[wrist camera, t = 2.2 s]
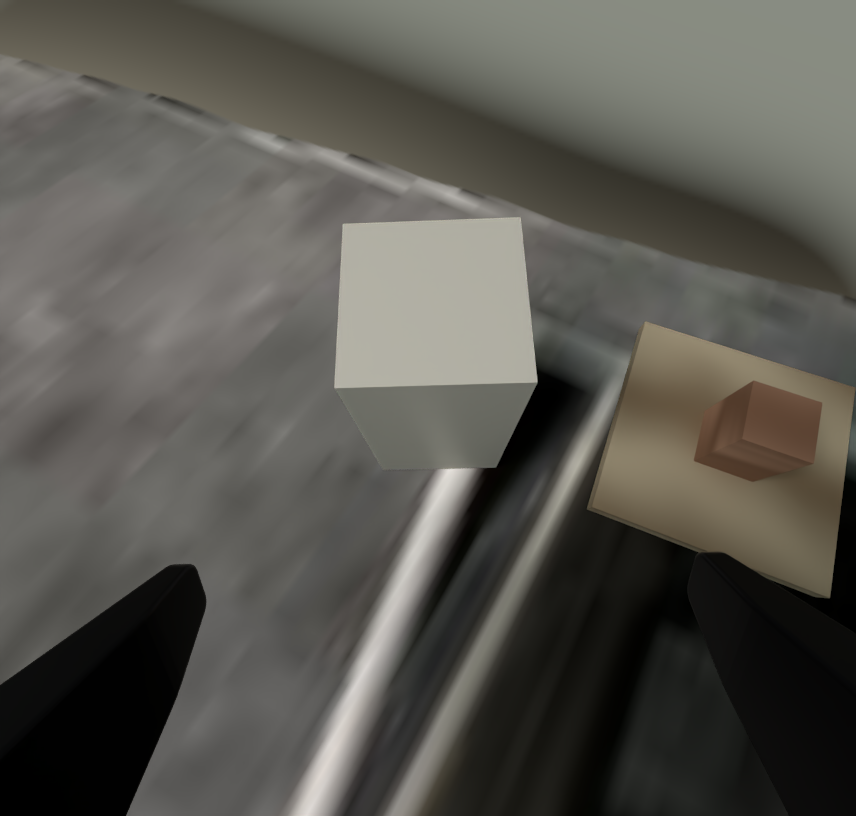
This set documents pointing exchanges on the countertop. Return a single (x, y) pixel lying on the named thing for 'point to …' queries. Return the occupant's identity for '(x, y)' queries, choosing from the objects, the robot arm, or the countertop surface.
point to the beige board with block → (729, 457)
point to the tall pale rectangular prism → (435, 339)
